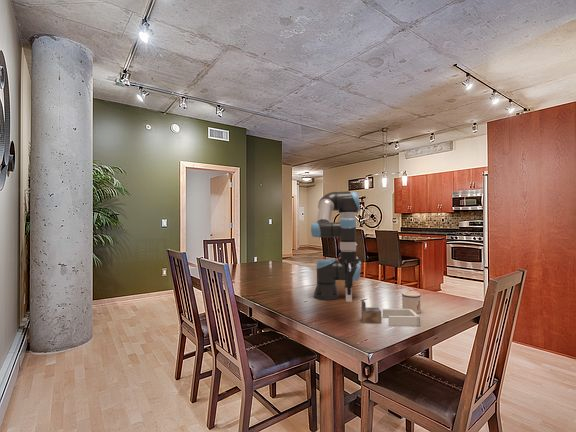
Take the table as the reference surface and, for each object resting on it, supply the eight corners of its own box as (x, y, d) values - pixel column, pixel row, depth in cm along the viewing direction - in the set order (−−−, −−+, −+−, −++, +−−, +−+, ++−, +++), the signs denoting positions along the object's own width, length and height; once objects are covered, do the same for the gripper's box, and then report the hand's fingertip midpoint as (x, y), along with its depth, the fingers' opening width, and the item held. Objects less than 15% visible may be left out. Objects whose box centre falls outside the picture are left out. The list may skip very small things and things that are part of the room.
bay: (389, 325, 139) (389, 316, 139) (382, 316, 151) (382, 308, 151) (420, 326, 138) (420, 317, 138) (411, 317, 150) (410, 308, 150)
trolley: (363, 323, 143) (363, 303, 143) (361, 319, 149) (361, 299, 149) (381, 323, 142) (381, 303, 142) (378, 319, 148) (378, 300, 148)
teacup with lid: (421, 314, 154) (421, 291, 154) (402, 313, 157) (401, 290, 157) (419, 308, 165) (419, 286, 165) (401, 306, 168) (401, 285, 168)
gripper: (358, 252, 140) (359, 304, 139) (354, 249, 153) (354, 297, 152) (341, 252, 140) (342, 304, 140) (338, 249, 153) (339, 297, 153)
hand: (348, 301), depth 146 cm, fingers closed
